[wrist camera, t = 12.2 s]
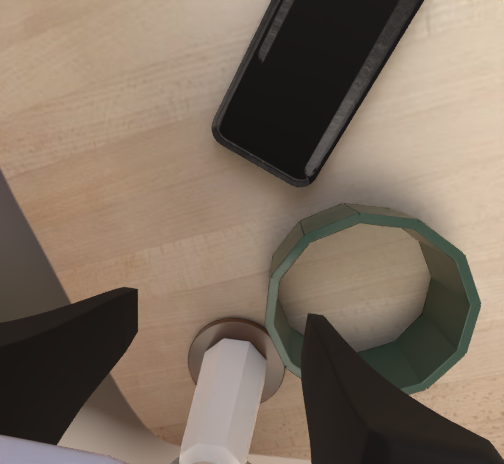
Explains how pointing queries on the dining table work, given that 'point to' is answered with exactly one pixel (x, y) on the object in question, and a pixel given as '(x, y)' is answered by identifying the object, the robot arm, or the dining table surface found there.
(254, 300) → the dining table surface
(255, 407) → the salt shaker
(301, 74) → the phone
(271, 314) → the green polygonal ring
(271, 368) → the coaster
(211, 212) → the dining table surface
